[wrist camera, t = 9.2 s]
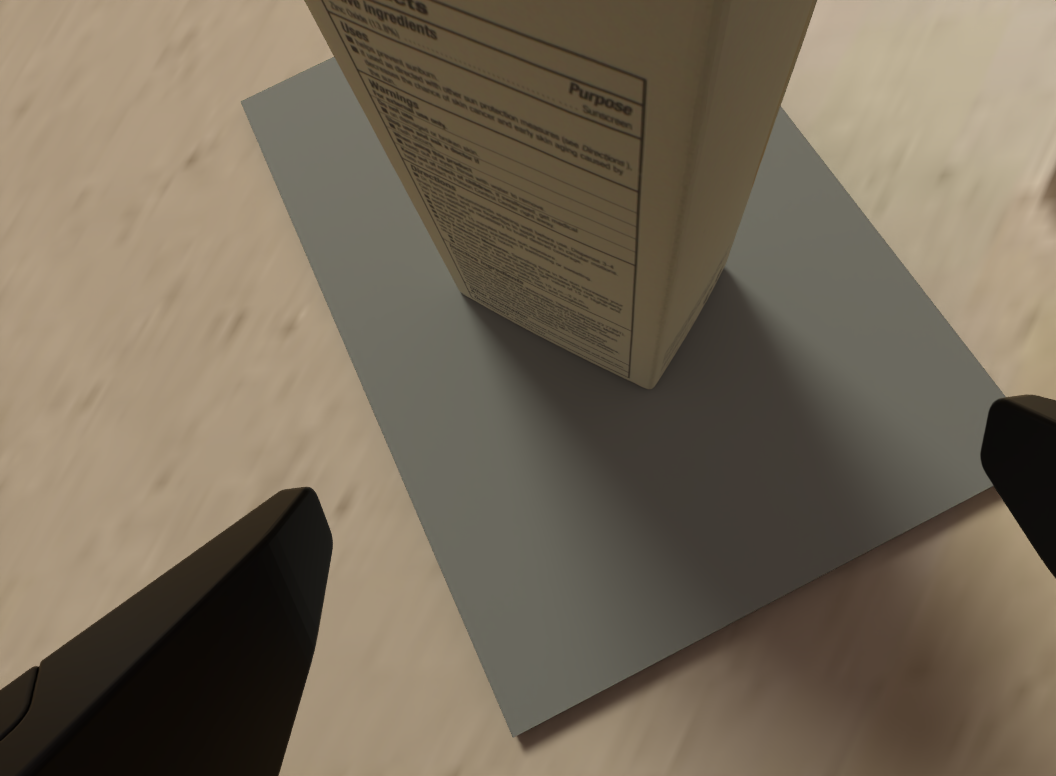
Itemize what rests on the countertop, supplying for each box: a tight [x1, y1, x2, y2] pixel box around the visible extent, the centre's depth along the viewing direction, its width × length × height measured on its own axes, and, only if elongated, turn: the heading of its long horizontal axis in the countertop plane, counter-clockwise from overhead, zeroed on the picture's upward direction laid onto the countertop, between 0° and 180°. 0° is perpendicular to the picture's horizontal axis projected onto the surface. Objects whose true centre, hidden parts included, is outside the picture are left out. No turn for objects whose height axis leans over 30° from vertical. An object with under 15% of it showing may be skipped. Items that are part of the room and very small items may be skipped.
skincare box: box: [304, 0, 817, 389], centre depth 12 cm, size 6×4×12 cm
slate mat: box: [241, 57, 1005, 737], centre depth 18 cm, size 20×14×1 cm
